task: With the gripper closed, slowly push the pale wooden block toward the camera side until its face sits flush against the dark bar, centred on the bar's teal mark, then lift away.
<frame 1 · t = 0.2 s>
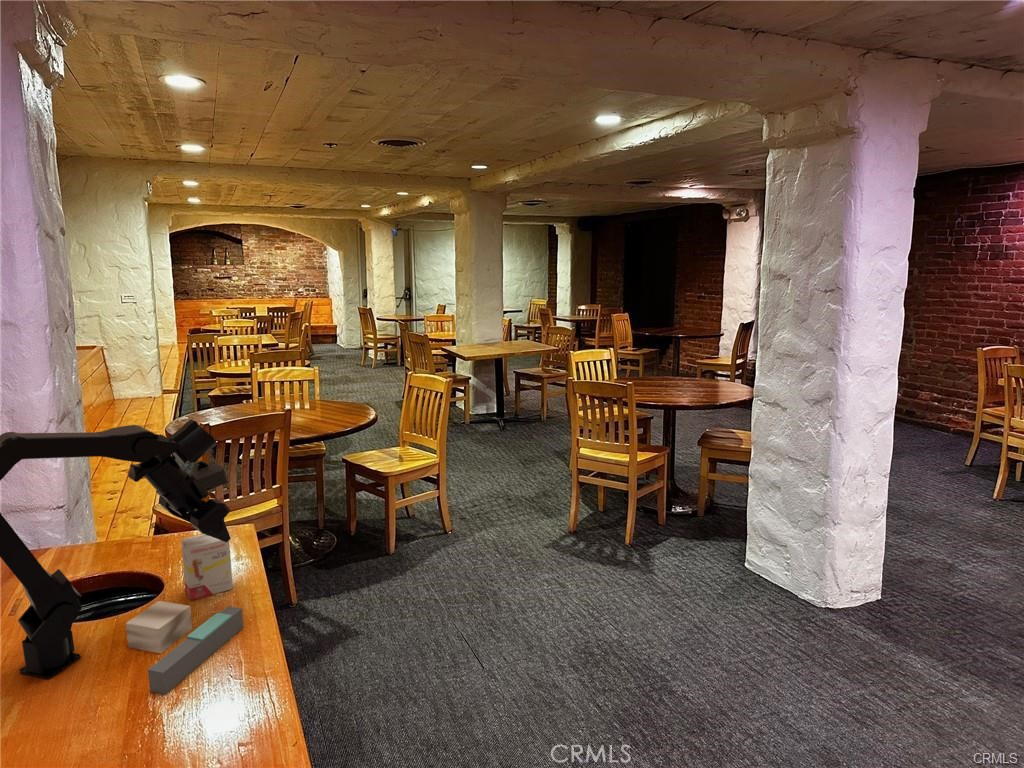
hand: (217, 533, 134), 15 cm above the table, tool tilted 30°, fingers open, 9 cm apart
dark bar: (200, 656, 118), on the table
ink box: (209, 591, 140), on the table
pale block: (161, 638, 124), on the table
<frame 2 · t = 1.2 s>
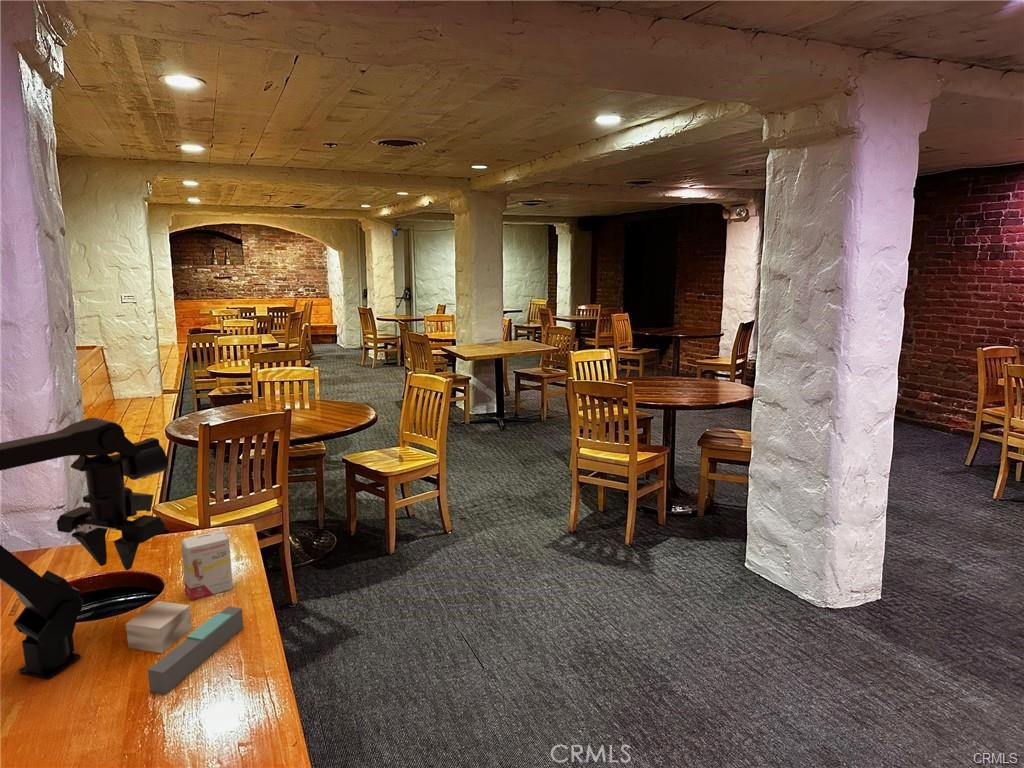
hand: (115, 567, 123), 13 cm above the table, tool pointing down, fingers open, 5 cm apart
nothing on the table moved.
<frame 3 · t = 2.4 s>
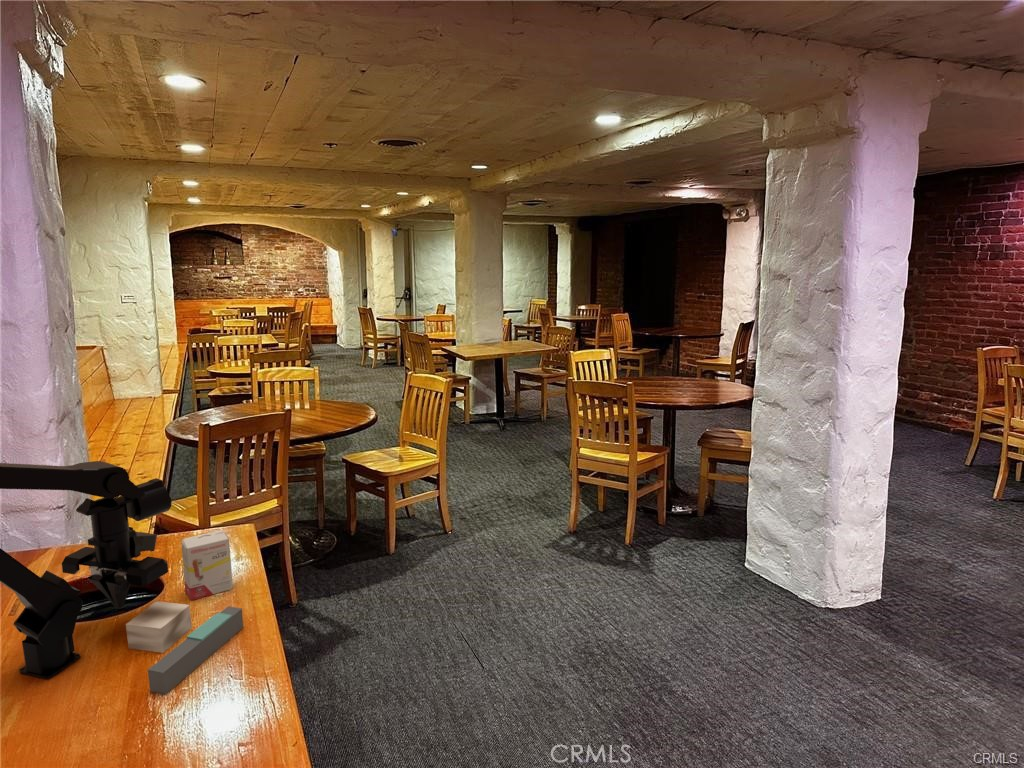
hand: (119, 607, 124), 5 cm above the table, tool pointing down, fingers closed
nothing on the table moved.
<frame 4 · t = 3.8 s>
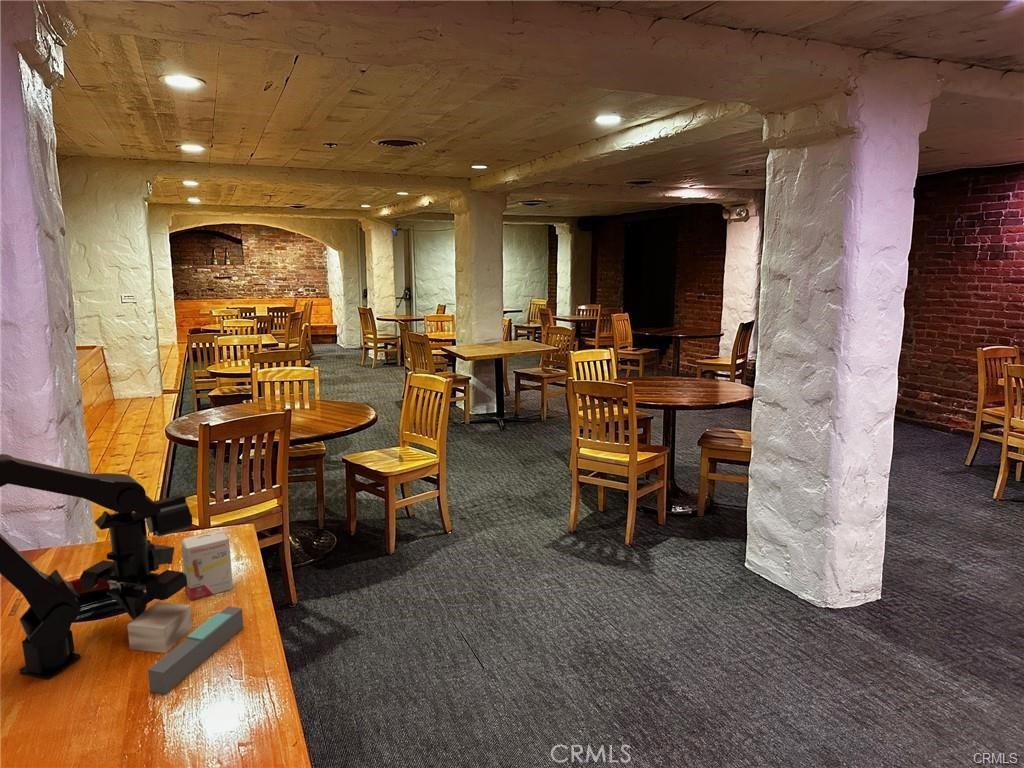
hand: (138, 620, 124), 3 cm above the table, tool pointing down, fingers closed
pale block: (162, 639, 123), on the table, touching gripper
everything else where it was.
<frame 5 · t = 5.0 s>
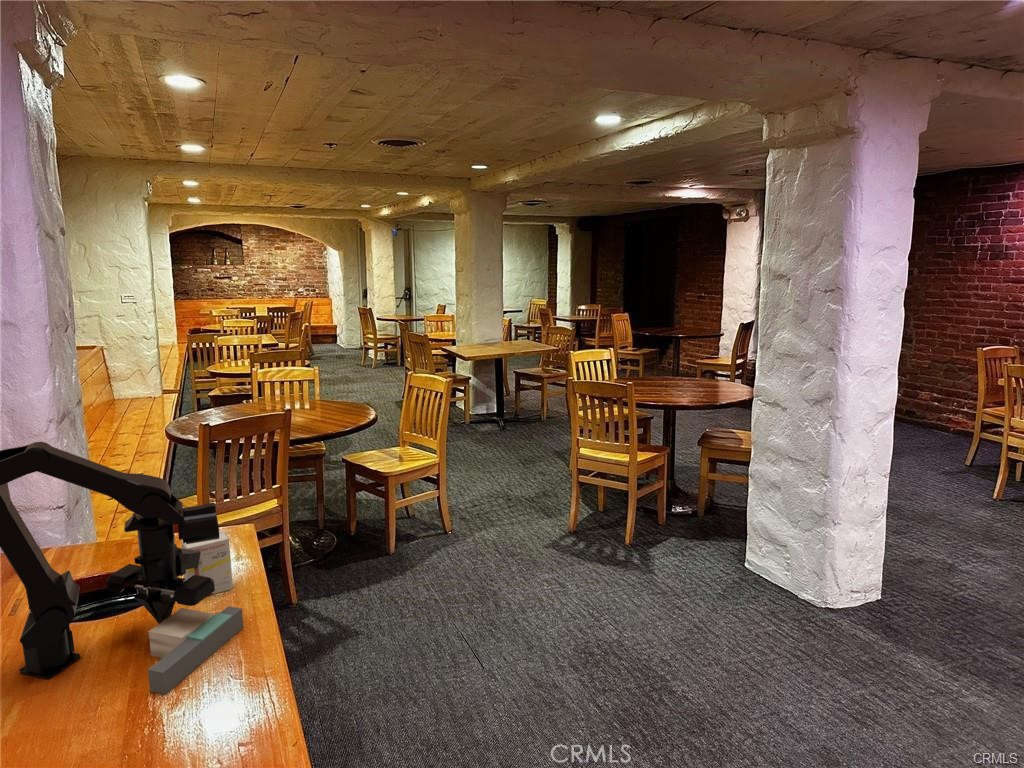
hand: (164, 625, 123), 3 cm above the table, tool pointing down, fingers closed
pale block: (184, 647, 121), on the table, touching dark bar, gripper
everything else where it was.
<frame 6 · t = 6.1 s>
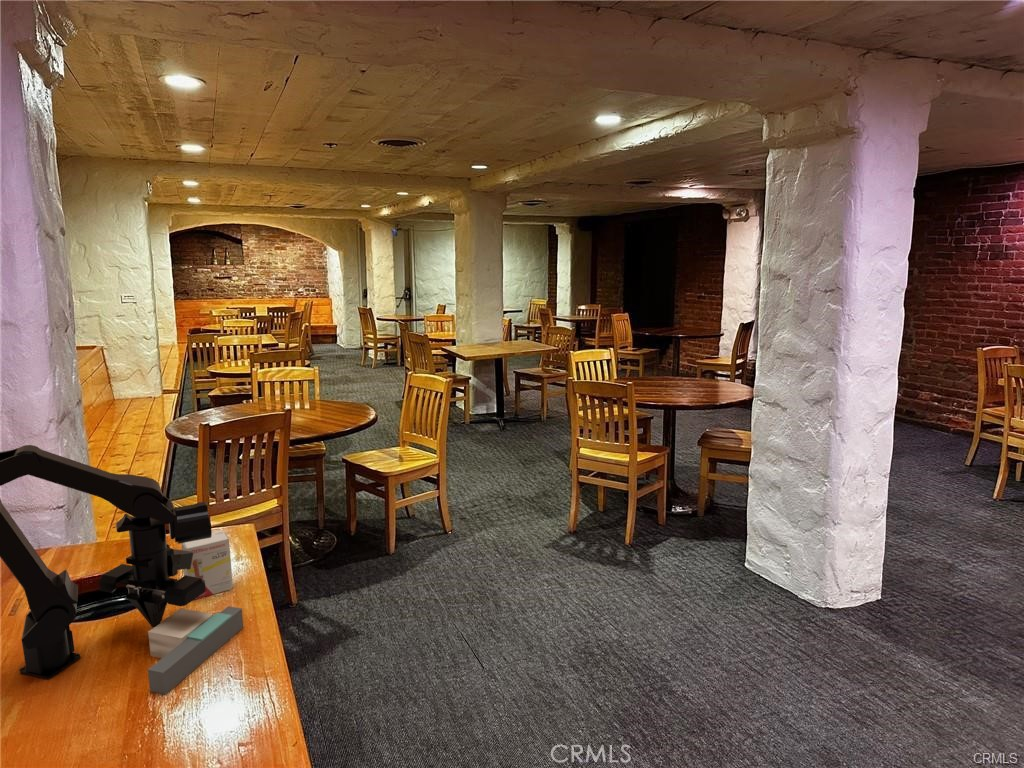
hand: (156, 626, 123), 2 cm above the table, tool pointing down, fingers closed
pale block: (183, 647, 121), on the table
everything else where it was.
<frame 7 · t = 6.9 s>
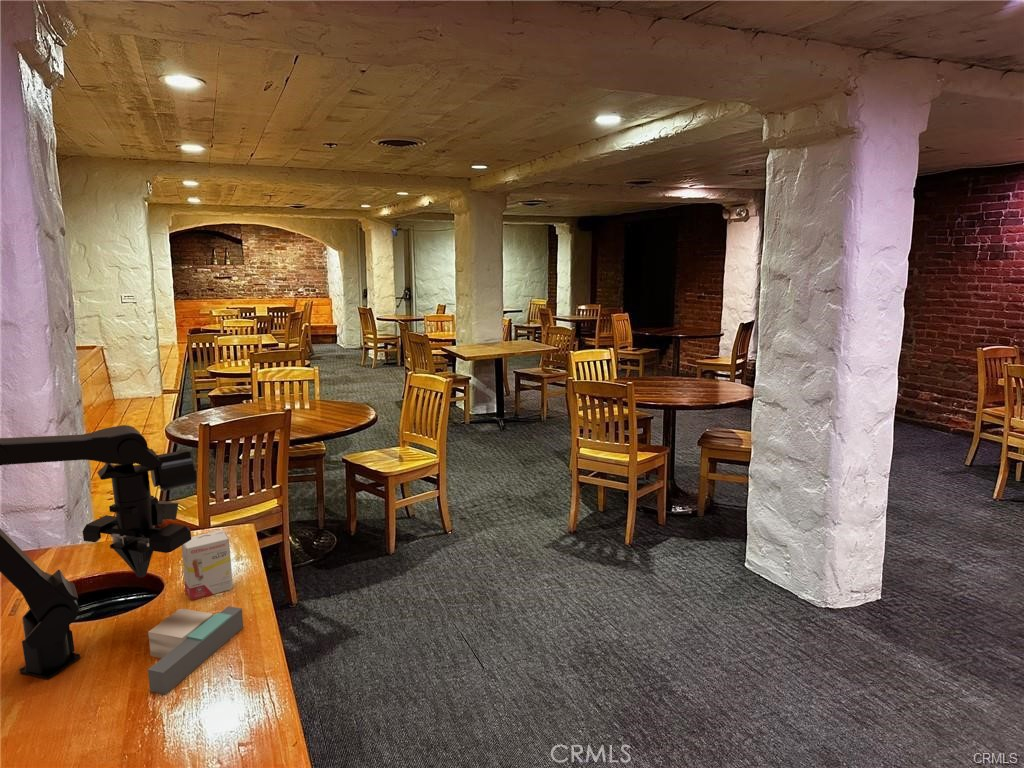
hand: (142, 576, 122), 12 cm above the table, tool pointing down, fingers closed
nothing on the table moved.
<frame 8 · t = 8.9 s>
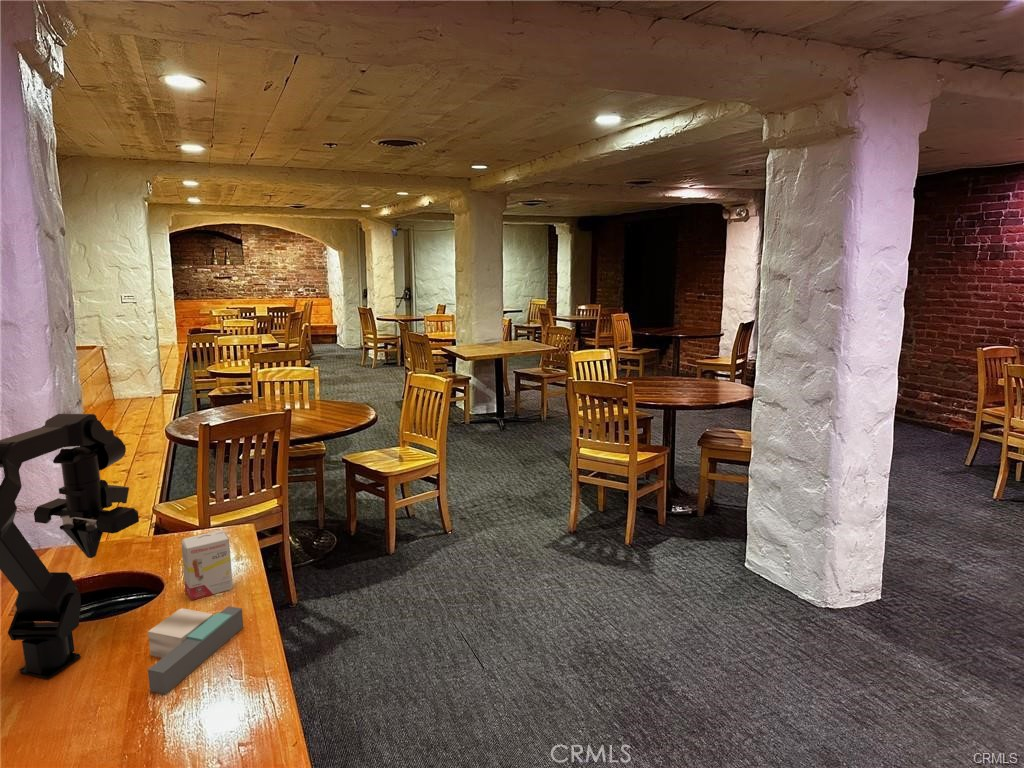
hand: (91, 557, 127), 13 cm above the table, tool pointing down, fingers closed
nothing on the table moved.
at the end: pale block 1.1 cm from the target spot on the table beside the dark bar, on the table; pale block tilted 0° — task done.
